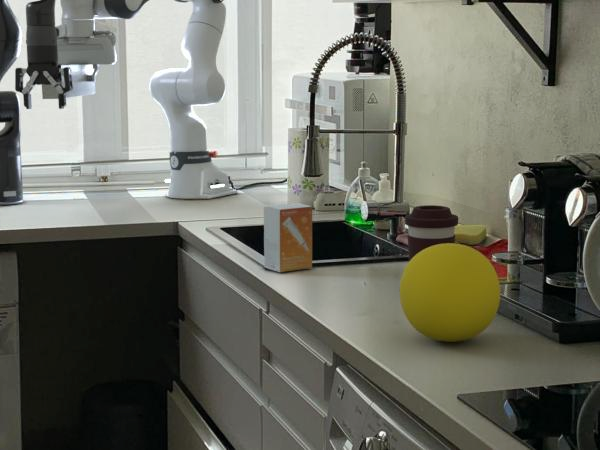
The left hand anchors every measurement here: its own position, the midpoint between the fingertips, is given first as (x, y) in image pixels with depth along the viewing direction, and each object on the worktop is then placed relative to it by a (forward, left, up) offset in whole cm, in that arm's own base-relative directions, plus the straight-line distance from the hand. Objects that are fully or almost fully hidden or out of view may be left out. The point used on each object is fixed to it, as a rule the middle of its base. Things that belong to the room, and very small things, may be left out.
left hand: (45, 108), depth 266 cm
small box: (+83, +12, -30) cm, 89 cm away
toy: (+141, -3, -30) cm, 144 cm away
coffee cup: (+114, +22, -30) cm, 120 cm away
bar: (-9, +12, +2) cm, 15 cm away
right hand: (-16, +19, +6) cm, 25 cm away
